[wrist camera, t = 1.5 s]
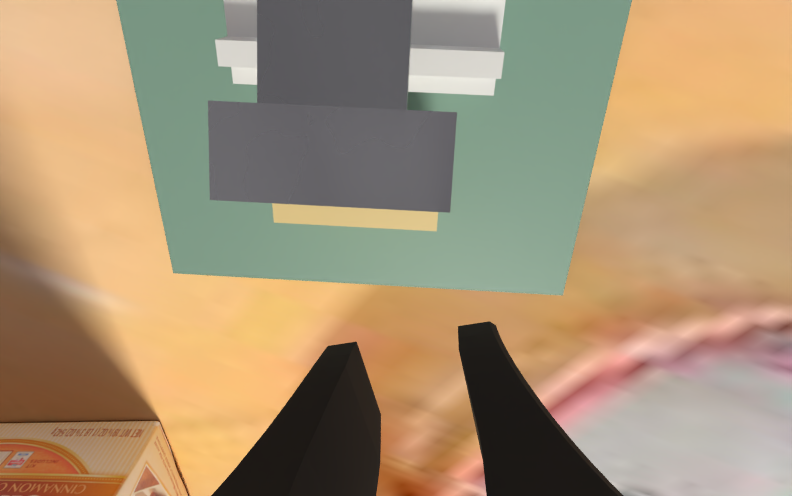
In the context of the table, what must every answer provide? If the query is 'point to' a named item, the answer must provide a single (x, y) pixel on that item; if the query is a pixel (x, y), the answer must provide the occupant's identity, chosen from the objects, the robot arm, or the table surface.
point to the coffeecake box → (87, 460)
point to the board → (428, 91)
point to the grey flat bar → (332, 114)
